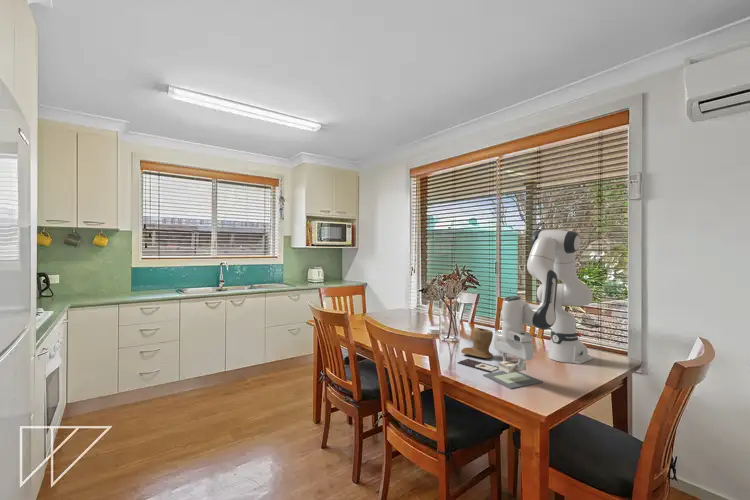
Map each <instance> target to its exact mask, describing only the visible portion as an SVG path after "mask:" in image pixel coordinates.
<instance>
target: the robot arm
mask: <svg viewBox="0 0 750 500" xmlns="http://www.w3.org/2000/svg"><path fill="white" fill-rule="evenodd" d="M530 245H531V250H530V252H529V254H528V258H527V261H526V269H527V271H528V273H529V274H530V275H531V277H533V278H535V279H537V280H538V281H540V282H541V284H540V285H539V286H538V287H537V289H536V296H537V299H538V300H539V301H540V304H536V303H535V304H534V303H530V302H526V301H525V300H524V299H522V297H521V296H519V295H517V296H516V295H513V296H512V295H510V296H506V297H505V298H504V299H503V301H502V305H501V317H502V318H501V319H502V324H501V329H496V330H495V332H494V337H493V349H495V350H496V351H498V352H501V356H502V359H503V361H509V360H510V358H509V357H508V356H507V355H509V356H512V357H515V358H517V360H519V361H518V363H516V367H518V368H521V367H522V362H524V361H531V360H533V358H534V344H533V342H532V341H533V340H534V337H533V335H531V334H529V333H528V332H527V331H526V330H524V325H526V326H532V327H534V328H536V329H540V330H542V331H545V330H548V329H550V328H551V329H550V341H549V349H548V351H547V356H548V358H549V359H550V360H552V361H557V362H561V363H567V364H568V363H569V364H571V363H572V364H577V365H580V364H583V363H586V362H588V361H592V360H593V359H594V356H592V355H590V354H588V353H589V352H588V350H589V349H588V347H587V346H586V345H585V344H584V343H583V342H582V341H580V340H579V338H581V337H582V333H581V332H577V331H576V325H577V323H576V320H577V319H576V317H575V316H574V315H573V314H572V313H570V312H568V311H566V310H565V309H564V308H563V306H569V307H571V306H572V307H585V306H589V305H590V304H591V303H592V301H593V291H592V289H591V288H590V287H589V286H587V285H586V284H585V283H583V282H582V281H581V279H579V277H578V275H577V270H576V252H577V251H578V250H579V249H580V245H581V237H580V235H579V234H578V232H576V231H572V230H569V231H568V230H564V229H563V230H562V229H537V230H535V231H534V232H532V234H531V236H530ZM558 280H559V281H561V282H562V283H558ZM503 361H502V362H503Z"/></svg>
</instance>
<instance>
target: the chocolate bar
mask: <svg viewBox="0 0 750 500" xmlns="http://www.w3.org/2000/svg"><path fill="white" fill-rule="evenodd" d="M456 363H457V364H458V365H462V366H465V367H468V368H471V369H475V370H479V371H482V372H486V373H494V372H496V371H497V370H500V369H499V366H496V365H492V364H489V363H484V362H482V361H478V360H474V359H470V358H466V359H464V360H460V361H458V362H456Z"/></svg>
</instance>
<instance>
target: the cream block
mask: <svg viewBox="0 0 750 500" xmlns="http://www.w3.org/2000/svg"><path fill="white" fill-rule="evenodd" d="M518 361H519V360H518V359H516V358H515V359H509V361H499V362H498V367H499V369H498V370H500V371H504V372H507V373H513V372H518V371H519V372H523V371H524V372H525V371H527V363H526V362H524V361H523V362H522V367H521V368H518V367H516V363H518Z"/></svg>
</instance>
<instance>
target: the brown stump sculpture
mask: <svg viewBox="0 0 750 500" xmlns="http://www.w3.org/2000/svg"><path fill="white" fill-rule="evenodd" d="M493 335H494V334H493V331H492V330H490V329H487V328H482V327H481V328H480V327H474V328H473V329H472V335H471V337H472V344H473V345H472V347H463V348H462V349H461V353H462V354H464V355H468V356H472V357H477V358H480V359H490V358H493V356H494V354H493V353H491V352H490V350H489V349H490V346H491V344H492V341H493V338H494V337H493Z"/></svg>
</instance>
